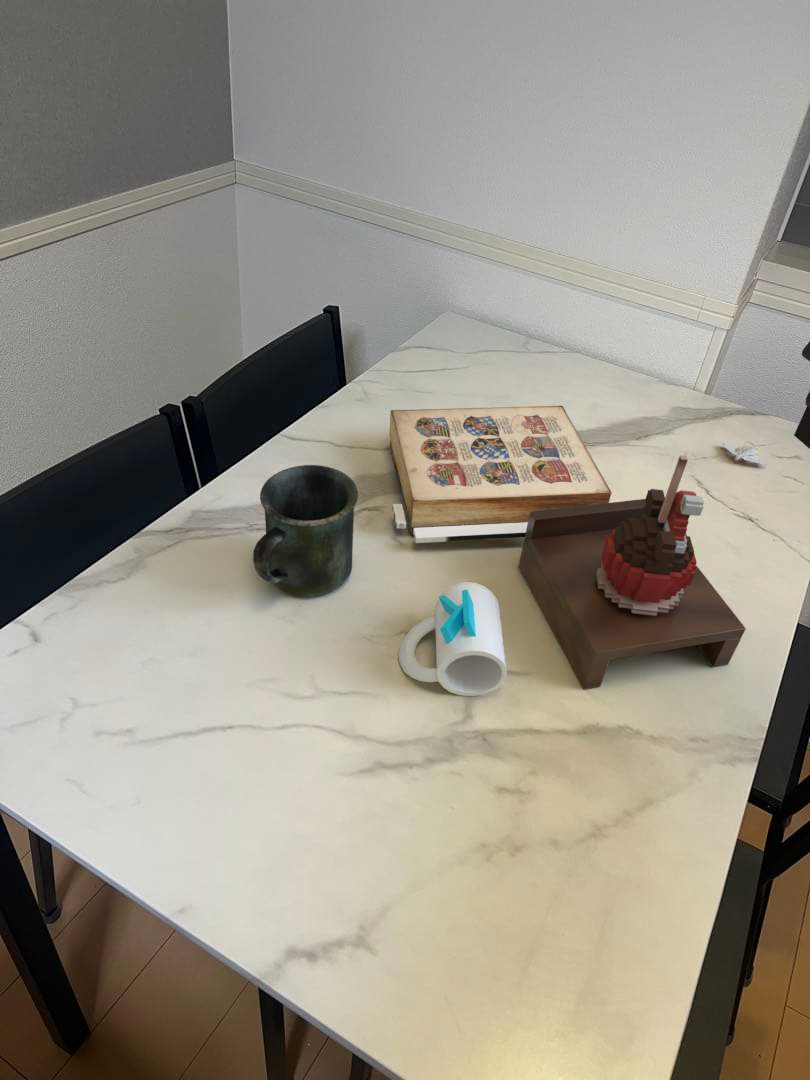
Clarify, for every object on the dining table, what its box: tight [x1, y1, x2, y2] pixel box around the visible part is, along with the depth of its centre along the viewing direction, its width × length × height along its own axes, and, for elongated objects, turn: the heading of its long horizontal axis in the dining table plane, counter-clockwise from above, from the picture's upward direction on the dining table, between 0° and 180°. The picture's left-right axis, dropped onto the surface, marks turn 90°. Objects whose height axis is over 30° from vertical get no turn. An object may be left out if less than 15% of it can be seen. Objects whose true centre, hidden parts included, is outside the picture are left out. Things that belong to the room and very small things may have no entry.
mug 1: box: [252, 464, 359, 598], centre depth 93 cm, size 11×15×12 cm
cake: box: [596, 455, 705, 616], centre depth 85 cm, size 11×9×18 cm
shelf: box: [518, 498, 747, 690], centre depth 93 cm, size 20×18×9 cm
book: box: [388, 405, 612, 544], centre depth 111 cm, size 25×6×28 cm
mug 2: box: [398, 581, 508, 697], centre depth 87 cm, size 12×9×12 cm
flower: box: [721, 442, 769, 466], centre depth 124 cm, size 8×8×3 cm
